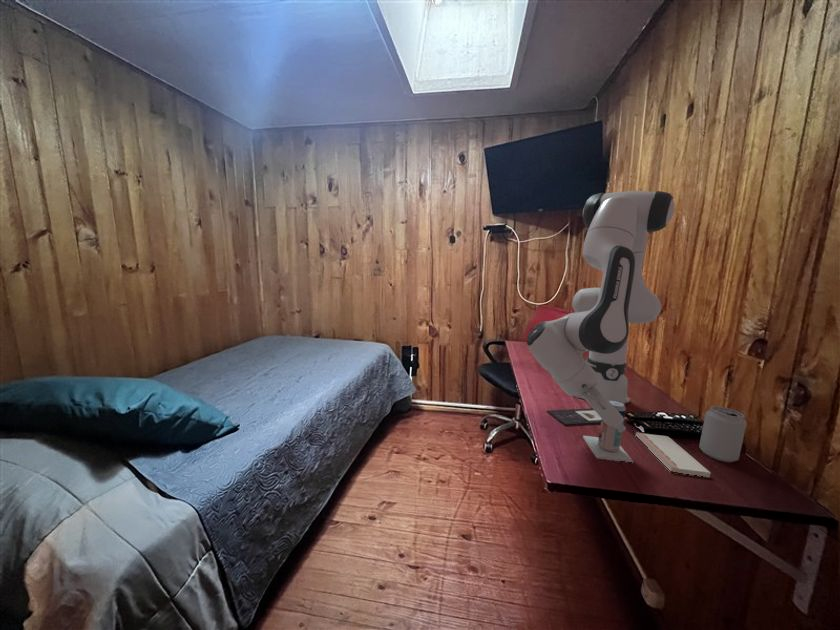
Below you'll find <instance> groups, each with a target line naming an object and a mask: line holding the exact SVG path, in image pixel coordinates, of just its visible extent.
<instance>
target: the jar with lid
mask: <svg viewBox="0 0 840 630" xmlns="http://www.w3.org/2000/svg"><path fill="white" fill-rule="evenodd" d="M608 401H609V402H610V403H611V404H612V405H613V406H614V407H615V408H616V410H617V411H618V412H619V413H620V414H621V415H622V417H623V421H622V424H623V425H624V423H625V415H626V410H627V408H626V405H625V404H623V403H622V402H619V401H615V400H608ZM622 435H623V432H621V433H620V432H619V431H618V430H617V429H616V428H615V427H609V426H608V425H607V424H606V423H605V422H604V420H603V419H602V420H601V424H600V426H599V434H598V437H599V440H598V445H599V446H600V447H601V448H602V449H604V450H606V451H609V452H616V451H619V449H620V446H621V442H622Z"/></svg>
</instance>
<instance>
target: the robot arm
mask: <svg viewBox="0 0 840 630" xmlns="http://www.w3.org/2000/svg"><path fill="white" fill-rule="evenodd" d="M675 207H676V206H675V201H674V197H673V195H672V194H671V193H669V192H666V191H662V190H661V191H660V190H657V191H647V190H629V191H617V192H607V193H605V192H600V193H595V194H593V195H591V196H590V197H589V198H588V199H587V200H586V202H585V204H584V207H583V209H582V221H583V224H584V225H585V227H586V228H588V230H587V233H586V236H585V239H584V241H583V242H584V243H583V246H582V256H583V259H584V261H585V262H586V264H587V265H589V266H590V267H592V268H594V269H596V270H598V271H602V277H601V284H600V287H587V288H581V289H579V290H578V291H577V292H576V293H575V295H574V296H573V299H572V308H573V310H574V312H571V313H568V314H565V315H564V316H562V317H560V318H556V319H554V320H549V321H548V320H547V321H545V320H544V321H541V322H539V323H537V324H536V325H535V326H534V327H533V328H532V329H531V330H530V331H529V333H528V335H527V338H526V345H527V348H528V350H529V351H530V353H531V354H532V356H533V357H534V358H535V360H536V361H537V362H538V364H540V366H541V367H542V368H543V369H545V371H547V372H549V374H550V375H551V376H552V379H553V380H554V382H555V383H556V384H557V385H558V386H559V387H560V388H561V390H563V392H564V394H565V395H567V396H569V397H575V398H580V399H583V400H585V401H586V402H587V403H588V404H589V406H590V407H591V409H594V410H595V411H596V412H597V414H598V415H599V416H600V417H601V418H602V419H603V420H604V422H605V423H606V424H607V425H608V426H609V427H615V428H616V429H617V430H618V431H619V432H620V433H621V432H622V433H623V432H625V431H626V430H627V427H626V426H625V425H624V423H623V424H622V421H623V417H622V415H621V414H620V413H619V412H618V411H617V410H616V408H615V407H614V406H613V405H612V404H611V403H610V402H609V401H608V400H615V401H619V402H622V403H623V404H624V405H625V404H627V403H630V402H631V398H629V397H628V377H626V376H625V374H626V369H627V363H626V357H627V352H628V351H627V350H628V346H629V345H628V344H629V343H628V338H629V334H630V333H629V332H630V325H629V324H647V323H648V324H649V323H652V322H654V321H655V320H656V319H657V318H658V317H659V316H660V313H661V310H662V303H661V300H660V299H659V297H658V296H657V294H655V293H654V292H653V291H652V290H650V288H649V287H648V286H647V284H646V283H645V281H644V278H643V265H644V258H645V253H646V247H647V242H648V235H651V234H653V233H655V232H659V231H661V230H663V229H664V228H666V227H667V226H668V224H669V223H670V221H671V220H672V219H673V216H674V213H675ZM586 352H588V353H589V354H588V356H587V357H586V359H585V358H584V357H583V354H584V353H586Z"/></svg>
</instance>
